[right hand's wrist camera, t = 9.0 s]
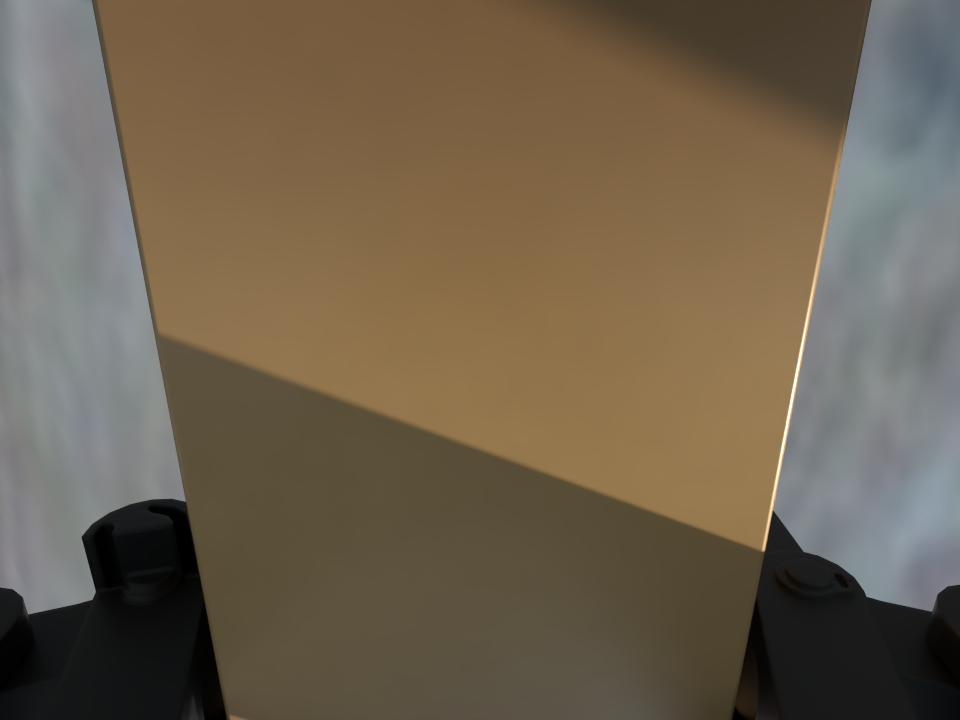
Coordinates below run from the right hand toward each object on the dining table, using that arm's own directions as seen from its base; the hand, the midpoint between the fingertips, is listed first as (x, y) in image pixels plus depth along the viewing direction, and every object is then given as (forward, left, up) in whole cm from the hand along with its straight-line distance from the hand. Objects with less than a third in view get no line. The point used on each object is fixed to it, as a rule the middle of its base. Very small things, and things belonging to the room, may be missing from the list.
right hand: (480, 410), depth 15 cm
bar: (+2, +8, -1) cm, 8 cm away
